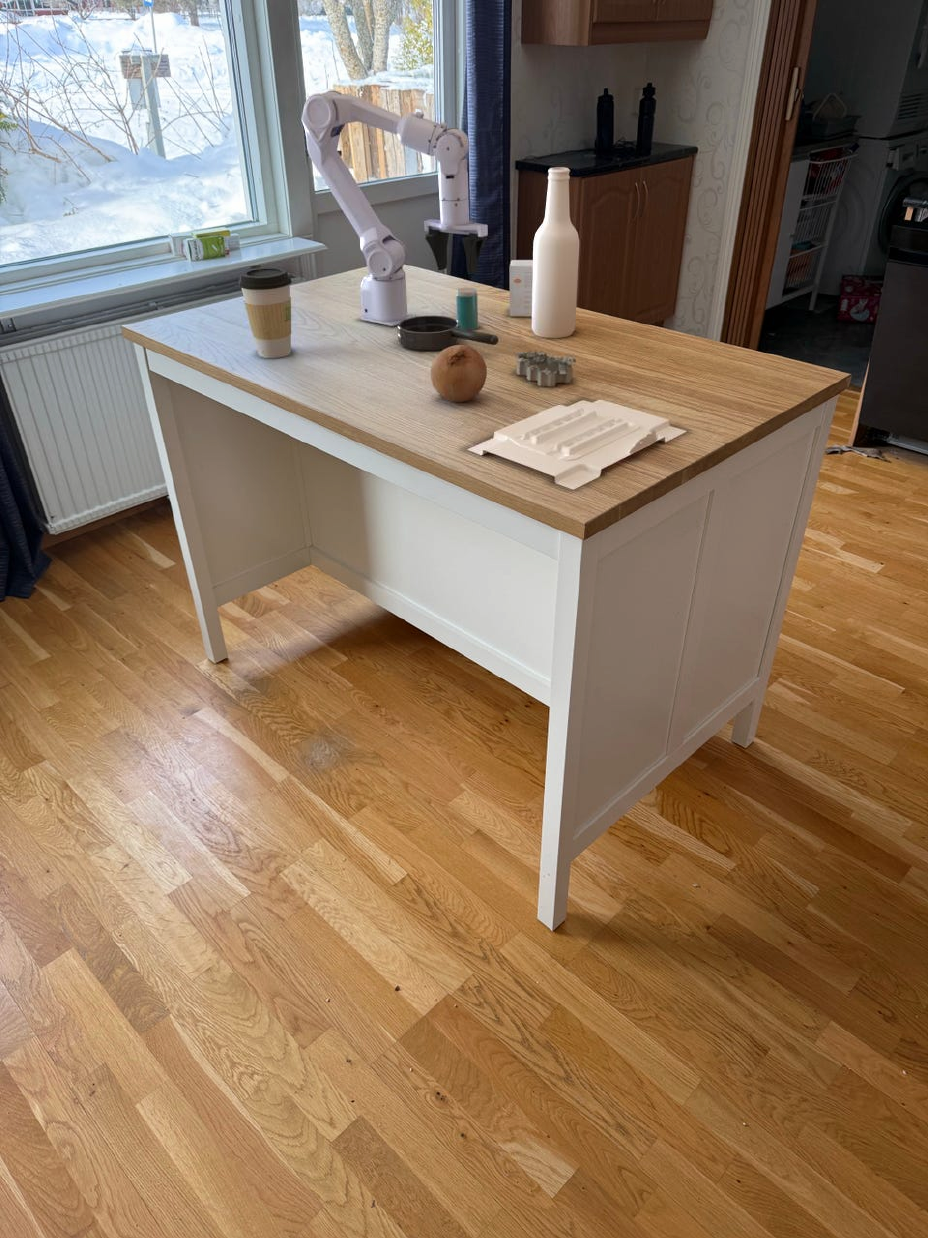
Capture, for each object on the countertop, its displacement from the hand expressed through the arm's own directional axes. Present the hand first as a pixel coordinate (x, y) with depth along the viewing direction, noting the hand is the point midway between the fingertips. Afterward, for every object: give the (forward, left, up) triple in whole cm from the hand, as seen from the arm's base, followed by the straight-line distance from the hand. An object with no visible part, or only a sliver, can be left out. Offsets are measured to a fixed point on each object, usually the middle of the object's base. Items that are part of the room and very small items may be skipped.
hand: (457, 271), depth 183 cm
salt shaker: (+4, -2, -10) cm, 11 cm away
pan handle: (+15, -14, -8) cm, 22 cm away
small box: (+9, +14, -11) cm, 19 cm away
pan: (+4, -14, -10) cm, 18 cm away
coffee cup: (-17, -36, -11) cm, 42 cm away
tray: (+53, -40, -11) cm, 68 cm away
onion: (+28, -36, -11) cm, 47 cm away
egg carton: (+34, -19, -11) cm, 40 cm away
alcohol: (+21, +5, -11) cm, 24 cm away
